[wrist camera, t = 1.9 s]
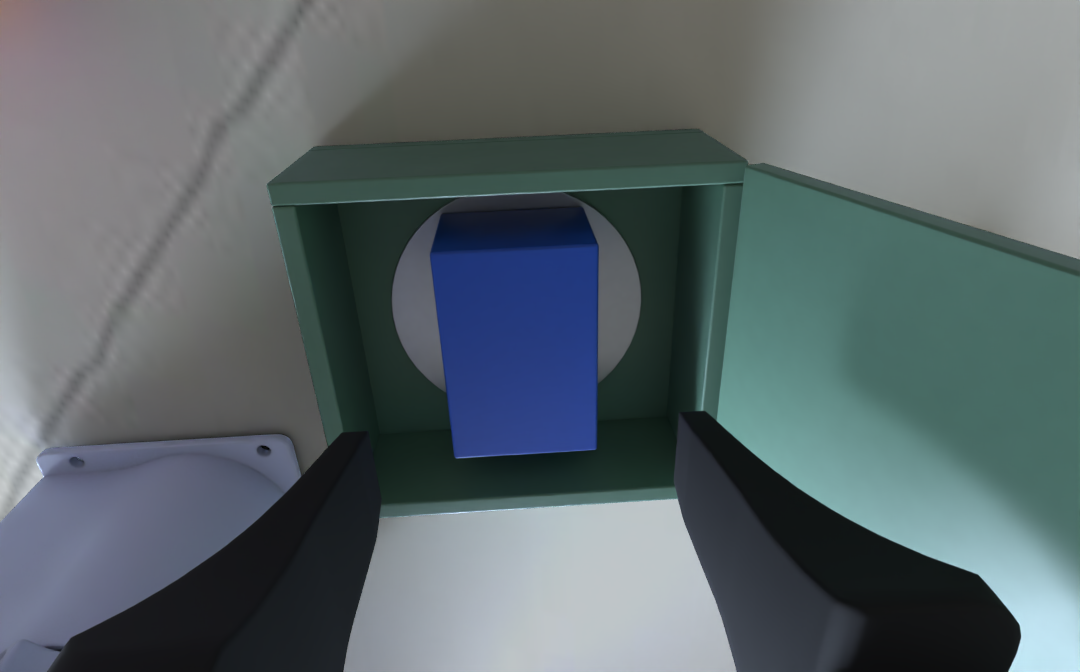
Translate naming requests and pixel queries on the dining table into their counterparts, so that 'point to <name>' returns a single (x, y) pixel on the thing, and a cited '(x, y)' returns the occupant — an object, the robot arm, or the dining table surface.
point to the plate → (414, 266)
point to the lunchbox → (505, 169)
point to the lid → (916, 387)
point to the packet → (518, 330)
